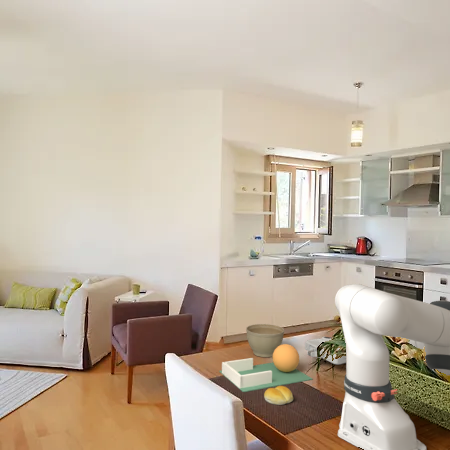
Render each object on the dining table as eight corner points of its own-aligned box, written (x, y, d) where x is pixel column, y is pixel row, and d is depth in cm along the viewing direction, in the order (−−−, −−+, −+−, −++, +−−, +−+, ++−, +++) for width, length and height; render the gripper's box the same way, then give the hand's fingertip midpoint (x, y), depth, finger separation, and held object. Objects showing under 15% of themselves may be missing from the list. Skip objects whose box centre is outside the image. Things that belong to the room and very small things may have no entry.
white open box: (271, 382, 142) (272, 371, 142) (239, 388, 137) (240, 376, 137) (251, 368, 156) (251, 357, 156) (221, 373, 151) (222, 362, 151)
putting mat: (312, 379, 146) (312, 378, 146) (243, 392, 135) (243, 391, 135) (282, 361, 164) (282, 360, 164) (219, 371, 153) (219, 370, 153)
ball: (304, 373, 151) (304, 347, 151) (281, 377, 147) (281, 350, 147) (289, 365, 160) (289, 339, 160) (267, 368, 156) (267, 342, 156)
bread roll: (259, 397, 131) (259, 385, 131) (283, 393, 135) (283, 381, 135) (273, 408, 124) (273, 395, 124) (297, 403, 128) (297, 390, 128)
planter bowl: (246, 360, 166) (246, 333, 166) (245, 347, 182) (245, 323, 182) (285, 361, 165) (286, 334, 165) (281, 348, 181) (282, 324, 181)
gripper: (355, 365, 154) (326, 371, 148) (321, 350, 173) (294, 354, 167) (356, 349, 154) (326, 353, 148) (322, 335, 173) (294, 338, 167)
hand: (309, 353), depth 158 cm, fingers closed
